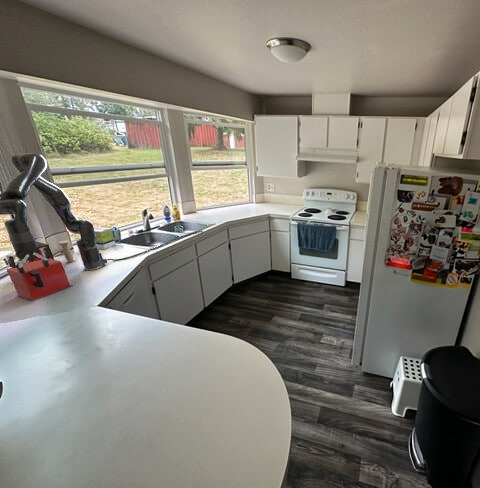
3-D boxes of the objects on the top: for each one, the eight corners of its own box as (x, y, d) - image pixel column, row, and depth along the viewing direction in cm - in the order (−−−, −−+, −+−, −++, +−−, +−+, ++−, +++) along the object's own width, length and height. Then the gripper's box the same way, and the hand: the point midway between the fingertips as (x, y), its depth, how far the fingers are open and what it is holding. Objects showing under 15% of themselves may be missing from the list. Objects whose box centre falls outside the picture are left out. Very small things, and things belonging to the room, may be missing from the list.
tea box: (88, 247, 201) (82, 230, 196) (101, 243, 210) (95, 226, 205) (104, 249, 199) (99, 231, 194) (116, 244, 208) (111, 227, 203)
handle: (65, 264, 172) (57, 243, 167) (66, 261, 177) (59, 241, 171) (75, 262, 175) (67, 242, 170) (76, 259, 180) (69, 239, 174)
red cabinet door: (76, 287, 143) (67, 263, 138) (39, 302, 129) (27, 275, 124) (69, 285, 145) (60, 261, 140) (31, 300, 131) (19, 273, 126)
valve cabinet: (69, 286, 146) (59, 261, 140) (31, 300, 131) (19, 273, 126) (56, 282, 149) (46, 257, 144) (18, 295, 135) (6, 269, 129)
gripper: (5, 246, 113) (19, 277, 119) (47, 237, 126) (58, 266, 132) (-4, 243, 116) (11, 275, 121) (38, 235, 128) (49, 263, 134)
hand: (35, 270), depth 126 cm, fingers open, 8 cm apart
